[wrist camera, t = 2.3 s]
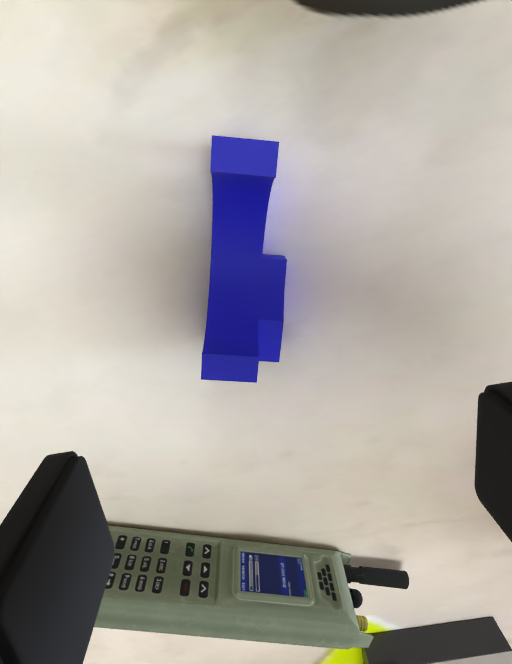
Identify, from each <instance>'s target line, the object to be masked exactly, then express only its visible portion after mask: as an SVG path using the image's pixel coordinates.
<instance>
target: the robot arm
mask: <svg viewBox="0 0 512 664" xmlns="http://www.w3.org/2000/svg"><path fill="white" fill-rule="evenodd" d="M475 490H476V494H477V496H478V498H479V500H480V502H481V503H482V504H483V506H484V507H485V508H486V509H487V511H488V512H489V513H490V515H491V516H492V517H493V518H494V520H495V521H496V522H497V524H498V525H499V526H500V527H501V529H502V530H503V531H504V533H505V534H506V535H507V537H508V538H509V539H510V540H511V542H512V382H507V383H500V384H494V385H488V386H487V387H486V388H485V391H484V392H483V393H481V394H480V395H479V397H478V416H477V440H476V465H475ZM114 555H115V547H114V542H113V539H112V536H111V533H110V530H109V527H108V524H107V521H106V518H105V515H104V512H103V510H102V507H101V504H100V501H99V498H98V495H97V492H96V489H95V486H94V483H93V480H92V477H91V474H90V471H89V468H88V465H87V463H86V460H85V458H84V457H82V456H79V457H78V456H77V454H76V453H75V452H73V451H70V452H64V453H58V454H51V455H48V456H46V457H45V458H44V460H43V461H42V463H41V464H40V466H39V467H38V469H37V470H36V472H35V473H34V475H33V476H32V478H31V479H30V481H29V482H28V484H27V485H26V487H25V488H24V490H23V492H22V493H21V495H20V496H19V498H18V499H17V501H16V502H15V504H14V505H13V507H12V508H11V510H10V511H9V513H8V514H7V516H6V517H5V519H4V520H3V522H2V523H1V525H0V664H83V661H84V657H85V654H86V651H87V647H88V644H89V641H90V637H91V634H92V631H93V627H94V624H95V621H96V617H97V614H98V611H99V607H100V604H101V601H102V597H103V594H104V591H105V588H106V584H107V581H108V578H109V574H110V571H111V568H112V564H113V561H114ZM431 664H512V651H508V652H502V653H496V654H489V655H483V656H476V657H470V658H464V659H457V660H451V661H444V662H438V663H431Z"/></svg>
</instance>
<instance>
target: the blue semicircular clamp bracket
mask: <svg viewBox="0 0 512 664" xmlns="http://www.w3.org/2000/svg"><path fill="white" fill-rule="evenodd" d="M278 147H279V142H275V141H265V140H254V139H244V138H233V137H222V136H212V149H211V174H212V185H213V223H212V250H211V269H210V285H209V299H208V311H207V321H206V331H205V339H204V346H203V352H202V370H201V379H204V380H221V381H239V382H256V383H257V373H258V363H259V361H268V362H279V358H280V349H281V340H282V331H283V321H284V288H285V274H286V263H287V259H286V258H285V256H280V255H267V254H262V251H263V241H264V232H265V223H266V216H267V209H268V202H269V197H270V192H271V187H272V183H273V180H274V178H275V177H276V168H277V158H278Z"/></svg>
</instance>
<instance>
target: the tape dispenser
mask: <svg viewBox="0 0 512 664" xmlns="http://www.w3.org/2000/svg"><path fill="white" fill-rule="evenodd" d="M370 635H372V636H374V637H373V639H372V641H371V643H370V645H369V647H366V648H362V652H363V663H364V664H431V663H438V662H444V661H451V660H457V659H464V658H470V657H476V656H483V655H489V654H496V653H502V652H508V651H512V649H511V647H510V645H509V644H508V642H507V640H506V638H505V637H504V635H503V633H502V632H501V630H500V628H499V627H498V625H497V623H496V621H495V620H494V618H493V617H488V618H481V619H474V620H467V621H460V622H453V623H446V624H439V625H432V626H425V627H417V628H410V629H403V630H396V631H389V632H382V633H375V634H370Z"/></svg>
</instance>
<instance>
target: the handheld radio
mask: <svg viewBox="0 0 512 664" xmlns="http://www.w3.org/2000/svg"><path fill="white" fill-rule="evenodd" d="M108 527H109V530H110V533H111V536H112V539H113V542H114V547H115V555H114V561H113V564H112V568H111V571H110V574H109V578H108V581H107V584H106V588H105V591H104V594H103V597H102V601H101V604H100V607H99V611H98V614H97V617H96V621H95V624H94V627H100V628H111V629H122V630H134V631H145V632H156V633H168V634H179V635H190V636H202V637H213V638H224V639H236V640H247V641H258V642H270V643H281V644H292V645H304V646H315V647H326V648H338V649H349V648H353V647H354V648H366V647H369V645H370V643H371V641H372V639H373V637H374V636H372V635H370V634H367V633H363V632H360V631H364V632H365V631H366V630H367V627H368V623H367V619H366V617H364V616H358V615H356V614H355V611H354V608H358V607H360V606H361V604H362V600H363V599H362V595H361V593H360V592H359V591H358V590H356V589H349V587H348V583H351V582H359V583H360V584H367V585H376V586H385V587H393V588H402V589H407V588H408V586H409V577H408V574H407V572H406V571H400V570H391V569H382V568H372V567H363V566H359V568H358V567H351V566H350V565H348V563H349V560H350V556H351V554H347V553H342V552H338V551H333V550H324V549H315V548H306V547H297V546H288V545H279V544H270V543H261V542H252V541H243V540H234V539H225V538H217V537H208V536H199V535H190V534H181V533H172V532H163V531H154V530H145V529H136V528H127V527H118V526H109V525H108Z"/></svg>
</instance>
